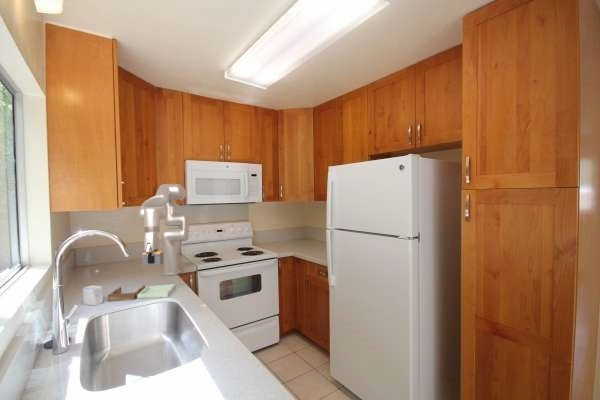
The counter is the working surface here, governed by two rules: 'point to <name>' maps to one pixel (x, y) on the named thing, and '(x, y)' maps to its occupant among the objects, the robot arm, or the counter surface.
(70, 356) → the counter surface
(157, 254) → the caddy
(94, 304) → the medicine box
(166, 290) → the tray
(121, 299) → the bay
